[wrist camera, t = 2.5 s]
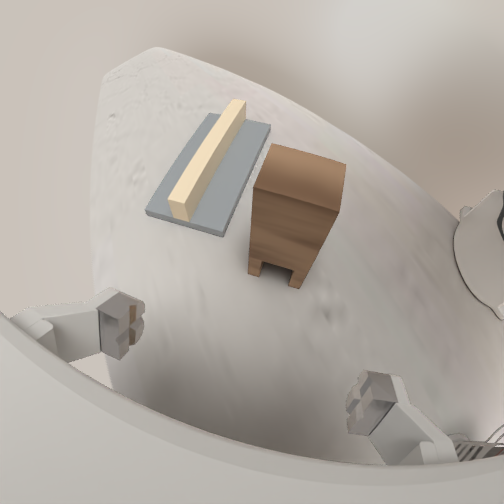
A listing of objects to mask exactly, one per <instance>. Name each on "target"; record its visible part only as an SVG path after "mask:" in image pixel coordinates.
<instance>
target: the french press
mask: <svg viewBox="0 0 504 504" xmlns="http://www.w3.org/2000/svg"><path fill="white" fill-rule="evenodd" d="M503 426H504V425H502V426H501V427H499V428H498V429H497V430H496V431H495V432H494V433H493V434H492V435H491V436H490V437H489V438H488V439H487V440H486V441H485V442H477V441H469V439H468V438H467V436H464V435H462V434H459V433H457V434H452V435H448V437H449V438H450V439H451V440H452V442H453V445H454V448H455V451H456V454H457V457H458V460H459V462H463V461H471V460H477V459H483V458H489V457H494V456H499V455H504V447H494V446H496V445H504V444H503V443H497V442H498V441H499V440H500V439H501V438H502V437H503V436H504V434H503V435H501V436H500V437H499V438H498V440H497V441H496V442H495V443H487V442H488V441H489V440H490V439H491V438H492V436H493V435H494V434H495V433H496V432H497V431H498V430H500V429H501V428H502V427H503ZM473 445H476V446H473ZM481 445H482V446H481Z"/></svg>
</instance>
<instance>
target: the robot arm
mask: <svg viewBox="0 0 504 504" xmlns="http://www.w3.org/2000/svg"><path fill="white" fill-rule="evenodd" d="M454 251H455V257H456V261H457V264H458V267H459V270H460V272H461V275H462V277H463V279H464V281H465V282H466V284H467V286H468V287H469V289H470V290H471V291H472V293H473V294H474V295H475V296H476V297H477V298H478V299H479V300H480V301H481V302H483V303H484V304H486V305H488V306H489V307H491V308H492V309H493V311H494V312H495V314H496V315H497V316H498V317H499V318H500V319H501V320H504V191H500V190H493V191H491V192H490V193H489V194H488V195H487V196H486V197H485V198H484V199H482V201H480V202H479V203H478V204H477V205H476V206H475V207H474V208H471V207H467V206H465V207H463V208H462V209H461V210H460V223H459V225H458V227H457V229H456V231H455V235H454ZM144 312H145V304H144V302H143V301H141V300H139V299H136V298H134V297H132V296H130V295H128V294H125V293H123V292H121V291H119V290H116V289H114V288H111V287H109V288H107V289H105V290H104V291H102V292H101V293H99V294H98V295H96V296H95V297H93V298H91V299H90V300H89V301H87V302H85V303H83V302H74V303H65V304H55V305H45V306H36V307H28V308H26V309H25V310H23V311H22V312H20V313H18V314H16V315H15V316H13V317H12V318H10V319H9V318H7V317H6V316H5V315H4V314H3V313H2V312H1V311H0V504H504V455H499V456H494V457H489V458H483V459H477V460H471V461H463V462H459V460H458V457H457V454H456V451H455V448H454V445H453V442H452V440H451V439H450V438H449V437H448V436H447V435H446V434H444V433H443V432H442V431H441V430H440V429H439V428H438V427H437V426H436V425H435V424H434V423H433V422H432V421H431V420H430V419H428V418H427V417H426V416H425V415H424V414H423V413H422V412H421V411H420V410H419V409H418V408H417V407H416V406H415V405H411V404H410V401H409V398H408V395H407V392H406V389H405V386H404V383H403V380H402V378H401V377H400V376H398V375H391V374H383V373H378V372H372V371H367V370H363V371H362V372H361V374H360V375H359V377H358V384H356V385H355V386H353V387H352V388H351V390H350V392H349V394H348V397H347V400H346V411H347V412H348V413H349V417H348V418H347V428H348V433H352V434H358V435H365V436H368V437H369V439H370V440H371V442H372V444H373V445H374V447H375V448H376V450H377V451H378V453H379V454H380V456H381V457H382V459H383V460H384V462H385V463H386V465H371V464H357V463H346V462H337V461H329V460H322V459H315V458H309V457H303V456H298V455H292V454H288V453H283V452H278V451H274V450H269V449H265V448H261V447H257V446H253V445H250V444H246V443H242V442H239V441H236V440H232V439H229V438H226V437H223V436H219V435H216V434H213V433H210V432H207V431H205V430H202V429H199V428H196V427H194V426H191V425H188V424H186V423H183V422H181V421H178V420H176V419H173V418H171V417H168V416H166V415H164V414H161V413H159V412H157V411H154V410H152V409H150V408H148V407H146V406H144V405H141V404H139V403H137V402H135V401H133V400H131V399H129V398H127V397H125V396H123V395H121V394H119V393H118V392H116V391H114V390H112V389H110V388H108V387H107V386H105V385H103V384H101V383H99V382H98V381H96V380H94V379H92V378H91V377H89V376H87V375H86V374H84V373H82V372H81V371H79V370H78V369H76V368H75V367H73V366H71V365H70V364H68V363H69V362H72V361H75V360H79V359H82V358H85V357H87V356H91V355H94V354H97V353H100V352H101V351H102V352H103V353H105V354H107V355H109V356H111V357H114V358H116V359H118V360H121V359H122V358H123V356H124V355H125V354H126V353H127V352H128V351H129V346H130V345H134V344H136V343H137V342H138V341H139V339H140V337H141V335H142V333H143V329H144V321H143V319H142V317H141V315H142V314H143V313H144Z"/></svg>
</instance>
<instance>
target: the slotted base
mask: <svg viewBox="0 0 504 504" xmlns="http://www.w3.org/2000/svg"><path fill="white" fill-rule="evenodd" d="M270 128H271V125H270V124H265V123H261V122H256V121H251V120H246V101H243V100H237V99H233V100H232V101H231V102H230V104H229V105H228V106H227V108H226V109H225V111H224V112H223V113H222V115H219V114H213V113H209V114H208V115H207V117H206V118H205V119H204V121H203V122H202V123H201V125H200V126H199V128H198V129H197V130H196V132H195V133H194V134H193V136H192V137H191V139H190V140H189V142H188V143H187V144H186V146H185V147H184V149H183V150H182V152H181V153H180V155H179V156H178V158H177V159H176V160H175V162H174V163H173V165H172V167H171V168H170V170H169V171H168V173H167V174H166V176H165V177H164V179H163V180H162V182H161V184H160V185H159V187H158V188H157V190H156V192H155V193H154V195H153V197H152V198H151V200H150V202H149V203H148V205H147V207H146V208H145V211H146V214H147V215H148V216H152V217H155V218H159V219H162V220H166V221H169V222H172V223H176V224H179V225H183V226H186V227H190V228H193V229H196V230H200V231H203V232H207V233H210V234H214V235H217V236H220V237H223V236H224V234H225V232H226V229H227V227H228V225H229V222H230V220H231V218H232V215H233V213H234V211H235V208H236V206H237V204H238V201H239V199H240V197H241V194H242V192H243V190H244V188H245V185H246V183H247V181H248V179H249V176H250V174H251V172H252V170H253V167H254V165H255V163H256V161H257V158H258V156H259V154H260V152H261V150H262V147H263V145H264V143H265V141H266V139H267V136H268V134H269V132H270Z"/></svg>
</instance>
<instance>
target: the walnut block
mask: <svg viewBox="0 0 504 504" xmlns="http://www.w3.org/2000/svg"><path fill="white" fill-rule="evenodd" d="M345 171H346V164H343V163H340V162H337V161H334V160H331V159H328V158H324V157H321V156H318V155H314V154H311V153H307V152H303V151H300V150H296V149H292V148H289V147H285V146H281V145H277V144H273V143H272V144H271V146H270V149H269V151H268V153H267V156H266V158H265V160H264V163H263V165H262V168H261V170H260V172H259V175H258V177H257V179H256V182H255V184H254V187H253V201H252V216H251V232H250V248H249V264H248V274H250V275H254V276H257V277H259V275H260V272H261V269H262V266H263V263H264V262H267V263H271V264H274V265H277V266H281V267H284V268H287V269H291V270H292V274H291V277H290V281H289V284H288V286H290V287H294V288H297V289H299V288H300V286H301V285H302V283H303V281H304V279H305V277H306V275H307V274H308V272H309V270H310V268H311V266H312V264H313V262H314V260H315V259H316V257H317V255H318V253H319V251H320V249H321V247H322V245H323V243H324V241H325V239H326V237H327V236H328V234H329V232H330V230H331V228H332V226H333V224H334V222H335V220H336V218H337V216H338V214H339V211H340V205H341V199H342V192H343V185H344V178H345Z"/></svg>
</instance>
